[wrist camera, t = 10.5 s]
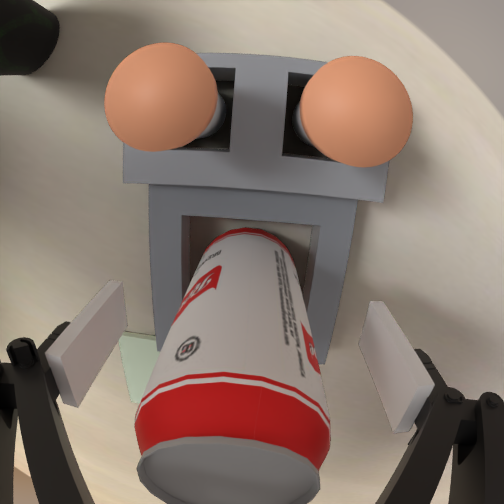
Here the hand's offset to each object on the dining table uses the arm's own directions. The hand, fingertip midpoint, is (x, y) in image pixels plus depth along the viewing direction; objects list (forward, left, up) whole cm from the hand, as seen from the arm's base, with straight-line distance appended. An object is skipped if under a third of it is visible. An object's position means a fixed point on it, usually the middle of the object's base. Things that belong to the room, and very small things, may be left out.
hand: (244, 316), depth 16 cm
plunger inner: (-4, +10, -5) cm, 12 cm away
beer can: (0, 0, -7) cm, 7 cm away
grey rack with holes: (0, +4, -6) cm, 7 cm away
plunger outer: (+3, +10, -5) cm, 12 cm away
